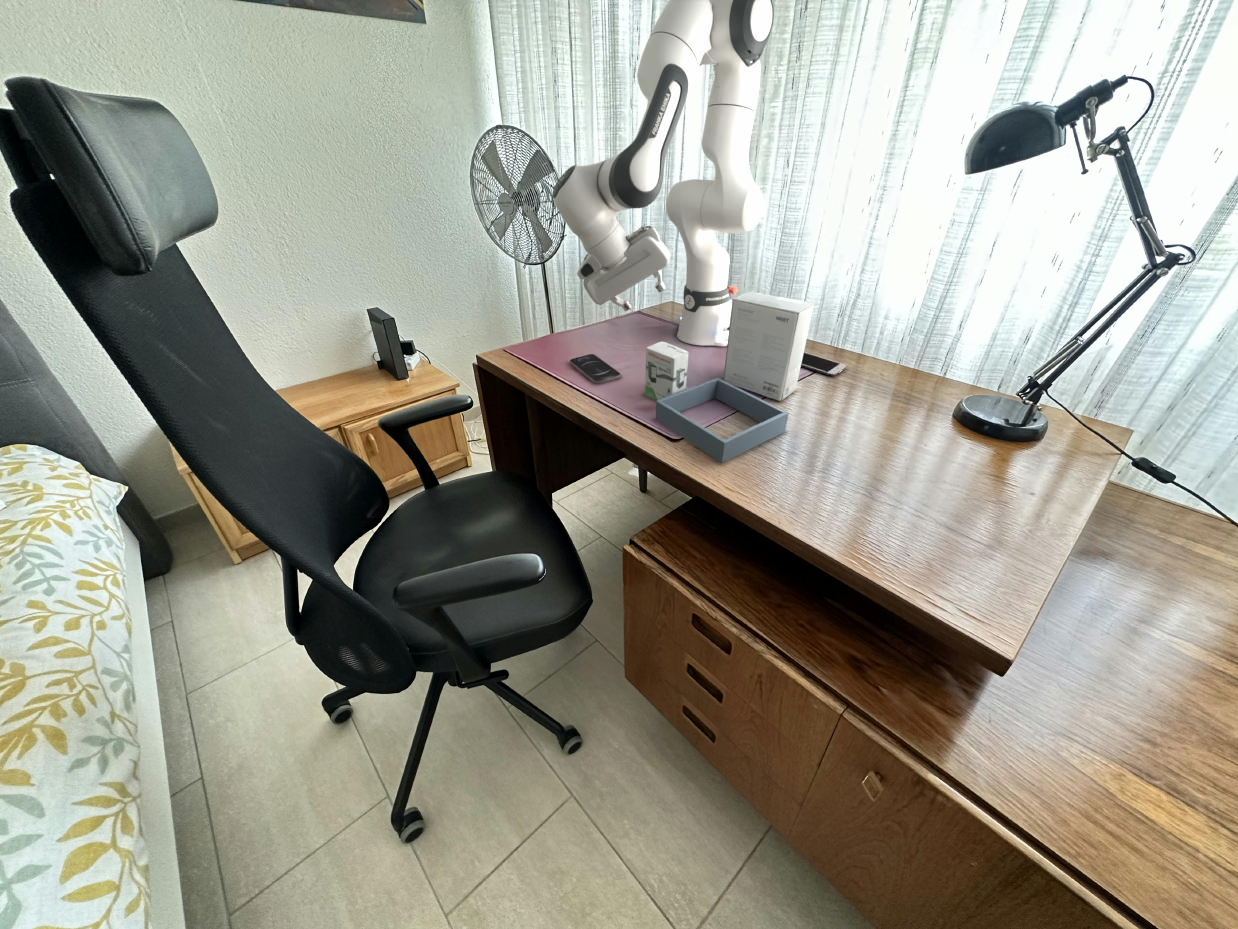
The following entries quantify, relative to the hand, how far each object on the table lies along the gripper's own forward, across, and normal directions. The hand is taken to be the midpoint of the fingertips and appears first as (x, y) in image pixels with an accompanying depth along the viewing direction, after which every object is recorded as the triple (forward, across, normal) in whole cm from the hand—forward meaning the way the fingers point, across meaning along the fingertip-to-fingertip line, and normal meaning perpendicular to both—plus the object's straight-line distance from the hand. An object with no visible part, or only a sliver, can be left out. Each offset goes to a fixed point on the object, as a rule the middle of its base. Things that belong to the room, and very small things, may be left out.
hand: (645, 299), depth 108 cm
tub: (+21, -9, +26) cm, 35 cm away
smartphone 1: (+8, +20, +5) cm, 22 cm away
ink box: (+16, +2, +16) cm, 23 cm away
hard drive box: (+29, -14, +8) cm, 33 cm away
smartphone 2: (+39, -24, -6) cm, 46 cm away
